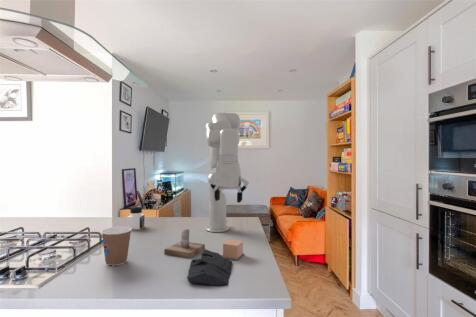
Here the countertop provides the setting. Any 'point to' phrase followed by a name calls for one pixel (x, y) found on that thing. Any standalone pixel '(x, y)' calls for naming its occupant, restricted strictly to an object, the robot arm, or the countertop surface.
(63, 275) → the countertop surface
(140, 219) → the medicine bottle
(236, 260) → the mat
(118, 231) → the coffee cup
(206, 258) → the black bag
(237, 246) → the peach colored cube
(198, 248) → the square brown stand
